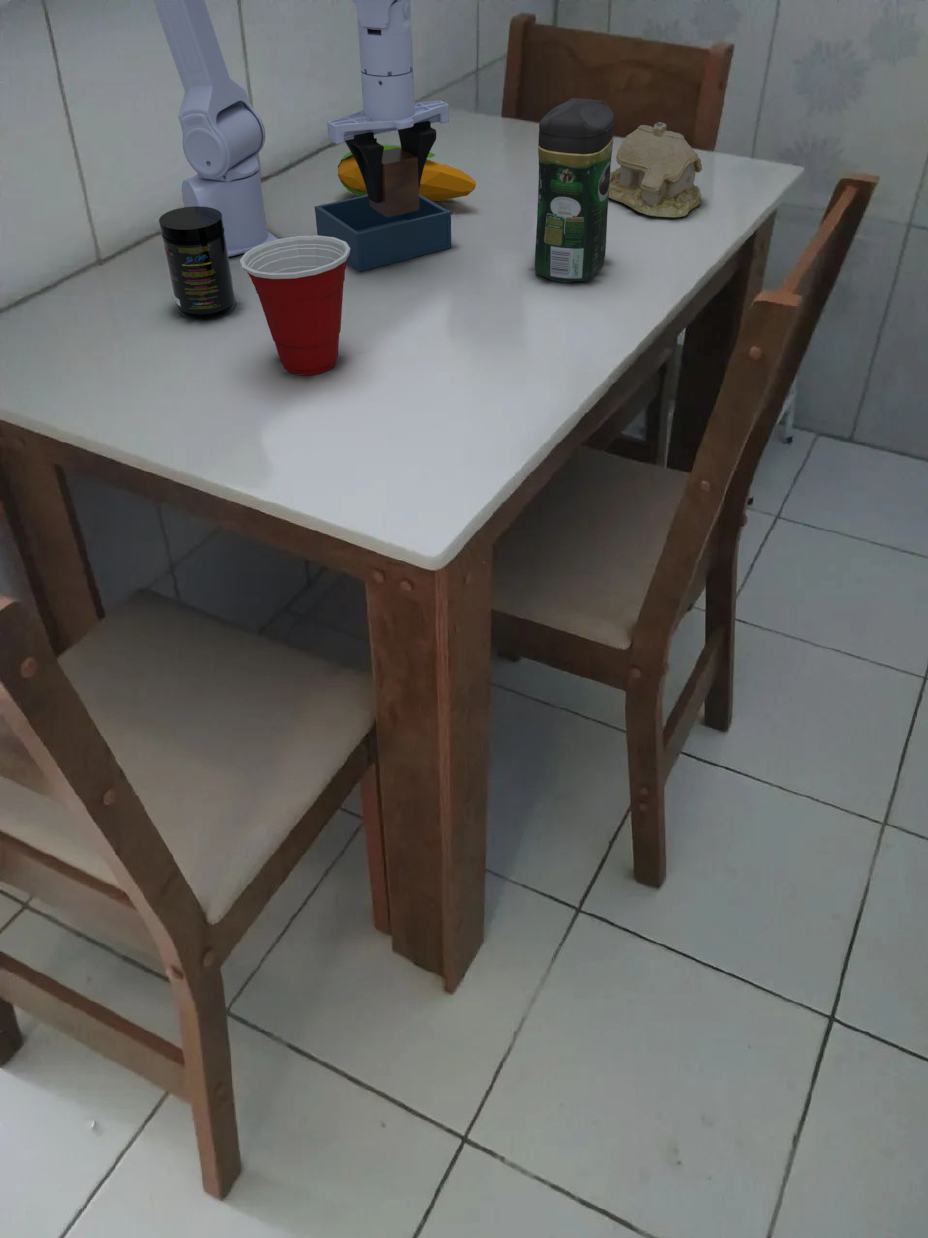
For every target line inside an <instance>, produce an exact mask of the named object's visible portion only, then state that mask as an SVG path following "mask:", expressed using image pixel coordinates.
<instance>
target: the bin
mask: <svg viewBox="0 0 928 1238" xmlns="http://www.w3.org/2000/svg"><path fill="white" fill-rule="evenodd" d="M314 214H315V215H314V216H315V224H316V231H317V232H316V233H317V234H316V235H318V236H327V237H335V238H337V239H340V240H342V241H345V242H346V243H347V244H348V246H349V247H350V254H349V256H348V258H347V262H346V264H348V265H350V267H352V268H354V270H356V271H358V272H363V271H367V270H371V269H374V268H379V267H383V266H387V265H390V264H395V263H399V262H402V261H406V260H410V259H413V258H418V257H420V256H424V255H428V254H433V253H436V252H441V251H444V250H448V249H451V248H452V212H451V211H449V210H448V209H446V208H445V207H443V206H441V205H440V204H438V203H436V202H435V201H431V200H429V199H427V198H426V197H424V196H422V195H420V194H419V210H417V211H413V212H409V213H405V214H400V215H396V216H392V217H388V218H387V217H385V216H384V215H382V214H381V213H379V212H378V211H376V210H375V209H373V208H371V207H370V206H369V198H368V194H367V195H363V196H354V197H350V198H346V199H342V200H337V201H333V202H329V203H328V202H327V203H324V204H320V205H315V206H314Z"/></svg>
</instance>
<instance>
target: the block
mask: <svg viewBox="0 0 928 1238" xmlns="http://www.w3.org/2000/svg"><path fill="white" fill-rule="evenodd" d="M381 182H382V199H381V203H375V202H373V201H372V200H370V199H369V206H370V207H371V208H373V209H375V210H376V211H378V212H379V213H381V214H382V215H384V216H385V217H387V218H388V217H392V216H396V215H400V214H405V213H409V212H413V211H417V210H419V184H418V158H417V157H416V156H414V155H412V154H410V153H408V152H406V151H405V150H403V149H401V148H399V147H398V148H393V149H388V150H383V156H382V166H381Z"/></svg>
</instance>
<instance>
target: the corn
mask: <svg viewBox="0 0 928 1238" xmlns="http://www.w3.org/2000/svg"><path fill="white" fill-rule="evenodd" d="M381 145H382V146H383V147H384V150H388V149H393V148H398V147H399V148H401V145H397V144H396V145H393V144H381ZM435 156H436V153H433V152H431V151H430V152H429V154H428V157H427V160H426V162H425V166H424V169H423V173H422V177H421V182H420V187H419V194H420V195H422V196H424V197H426V198H427V199H429V200H431V201H432V202H443V201H447V200H452V199H457V198H462V197H467V196H469V195H470V194H471V193H472V192H473V191H475V189H476V187H477V182H476V181H475V179H473V177H471V176H470V175H469V174H467V173H466V172H464V171H463V170H461V169H459V168H457V167H453V166H450V165H446V164H444V163H441V162H437V161H434V160H431V158H434V157H435ZM428 158H429V159H428ZM337 177H338V179H339V181H340V183H341V184H342V186H343V188H345V189H346V190H347V191H348V192H351V194H354V195H356V197H359V196H363V195H367V190H366V186H365V183H364V180H363V177H362V174H361V172H360V169H359V167H358V164H357V162H356V160H355V158H354V156H353V154H352V153H351V151H349V152H347V153H346V154H344V155H343V157H342V159H341V160H340V162H339V163H338V165H337Z"/></svg>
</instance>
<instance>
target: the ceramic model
mask: <svg viewBox="0 0 928 1238" xmlns="http://www.w3.org/2000/svg"><path fill="white" fill-rule="evenodd" d="M615 160H616V163H617V164H618V165H620V166H619V167H618V168H615V170H614V171H610V182H609V198H610V199H611V200H613V201H617V202H619V203H621V204H624V205H626V206H628V207H630V208H631V209H633V210H634V211H636V212H637V213H640V214H644V215H646V216H650V217H661V218H680V217H686V216H687V215H688V214H689V212H690V211H692V210H693V209H694V208H696V207H698V206H699V205H700V203H701V201H702V193H701V189H700V187H699V186H698V185H695V181H696V173H700V172H702V170H703V164H702V160H701V158H700V157H699V153H697V152H696V151H695V149H694V148H692V146H691V144H689V143H688V141H687V140H686V139H685V137H684V135H683V134H681V133H679V132H675V131H672V130H667V124H666V123H665V122H660V121H658V122H656V123H654V125H653V126H651V125H648V124H647V125H646V124H641V125H639V126H638V127H637V128H636V129H634V130H633V131H632V132H631V133H629V134H627V135H626V136H625V138H624V140H623V141H622V142H621V144H620V146H619V149H618V150H617V153H616V156H615ZM609 198H608V199H609Z"/></svg>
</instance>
